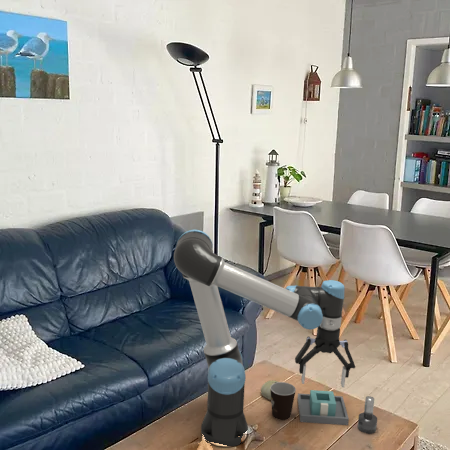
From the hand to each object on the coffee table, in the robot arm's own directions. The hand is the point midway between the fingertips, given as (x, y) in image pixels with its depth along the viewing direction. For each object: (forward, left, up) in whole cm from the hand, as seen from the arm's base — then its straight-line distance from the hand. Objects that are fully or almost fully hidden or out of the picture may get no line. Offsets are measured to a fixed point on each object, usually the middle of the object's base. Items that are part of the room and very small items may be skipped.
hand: (322, 383), depth 182 cm
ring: (0, 0, -10) cm, 10 cm away
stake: (+15, -8, -11) cm, 20 cm away
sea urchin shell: (-16, +9, -11) cm, 22 cm away
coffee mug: (-13, -2, -11) cm, 17 cm away
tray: (+1, 0, -11) cm, 11 cm away
